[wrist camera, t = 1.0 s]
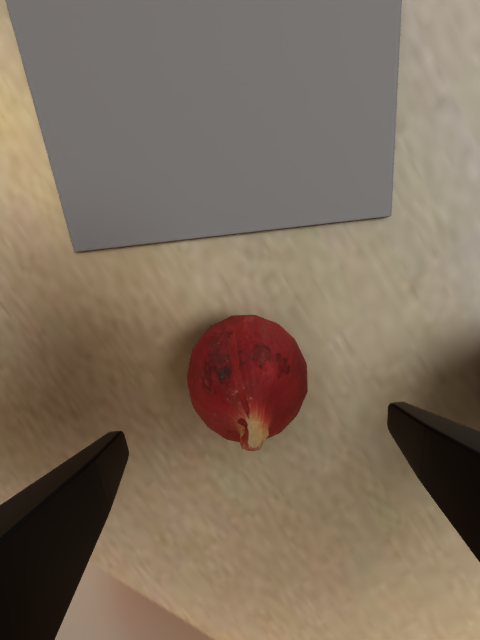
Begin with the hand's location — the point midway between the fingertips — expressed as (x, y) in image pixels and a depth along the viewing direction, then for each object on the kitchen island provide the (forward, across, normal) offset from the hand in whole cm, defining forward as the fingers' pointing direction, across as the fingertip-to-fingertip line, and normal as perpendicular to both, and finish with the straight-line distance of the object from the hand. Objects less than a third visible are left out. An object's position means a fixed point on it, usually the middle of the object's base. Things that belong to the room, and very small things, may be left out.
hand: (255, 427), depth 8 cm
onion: (+8, 0, 0) cm, 8 cm away
